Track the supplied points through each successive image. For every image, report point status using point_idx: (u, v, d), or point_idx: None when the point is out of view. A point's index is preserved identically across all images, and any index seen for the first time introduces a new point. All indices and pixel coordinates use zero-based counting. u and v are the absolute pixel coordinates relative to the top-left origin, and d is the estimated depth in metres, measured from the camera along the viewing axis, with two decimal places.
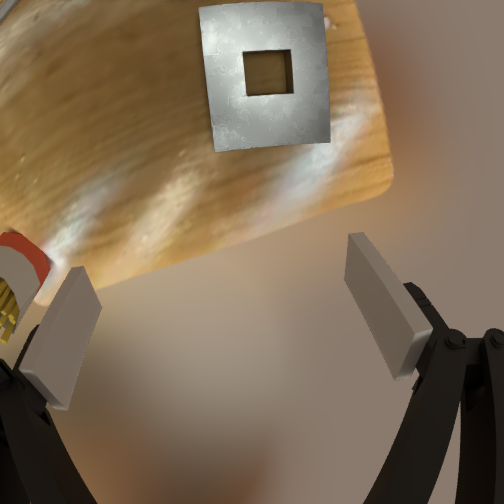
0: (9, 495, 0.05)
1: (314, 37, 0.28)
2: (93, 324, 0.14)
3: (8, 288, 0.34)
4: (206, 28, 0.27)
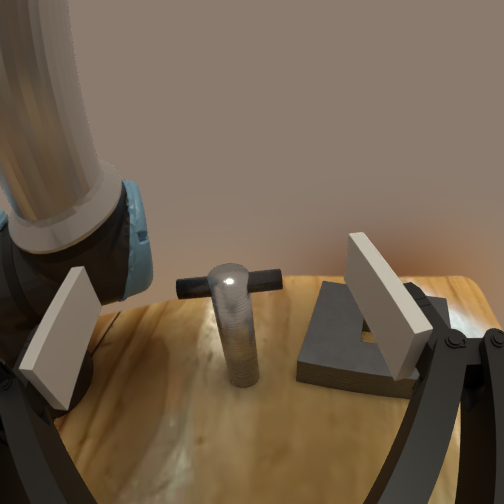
0: (9, 495, 0.05)
1: None
2: (93, 324, 0.14)
3: None
4: (325, 361, 0.30)
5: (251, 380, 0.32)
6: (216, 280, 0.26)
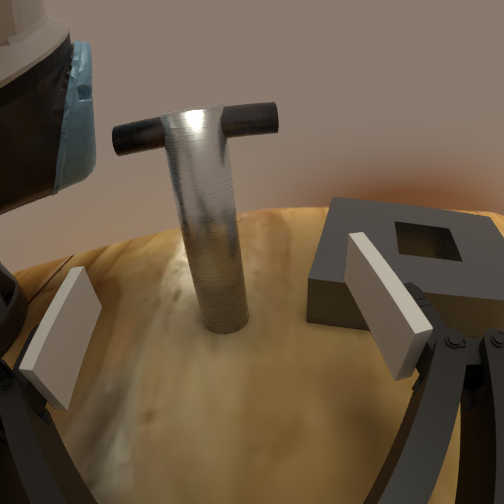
0: (9, 495, 0.05)
1: (376, 206, 0.28)
2: (94, 324, 0.14)
3: None
4: None
5: (235, 319, 0.21)
6: (173, 113, 0.15)
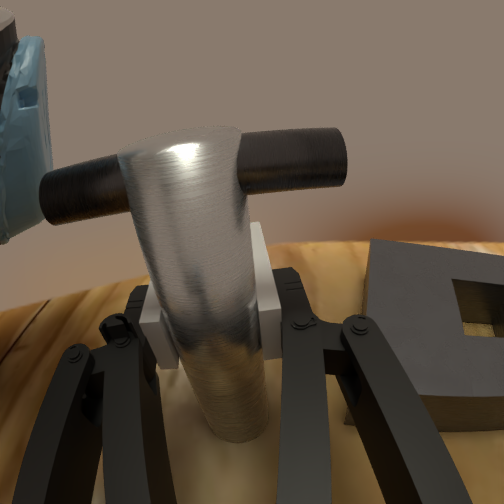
0: (74, 478, 0.06)
1: (426, 254, 0.21)
2: None
3: None
4: (414, 384, 0.12)
5: (253, 430, 0.14)
6: (141, 149, 0.07)
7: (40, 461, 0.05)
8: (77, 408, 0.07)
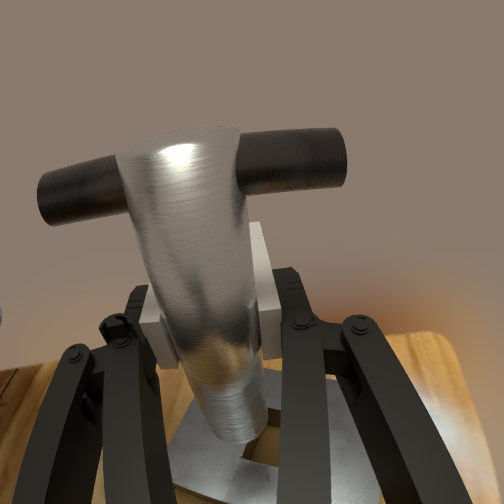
0: (74, 478, 0.06)
1: None
2: None
3: None
4: (186, 481, 0.19)
5: (252, 431, 0.14)
6: (139, 149, 0.07)
7: (40, 461, 0.05)
8: (78, 407, 0.07)
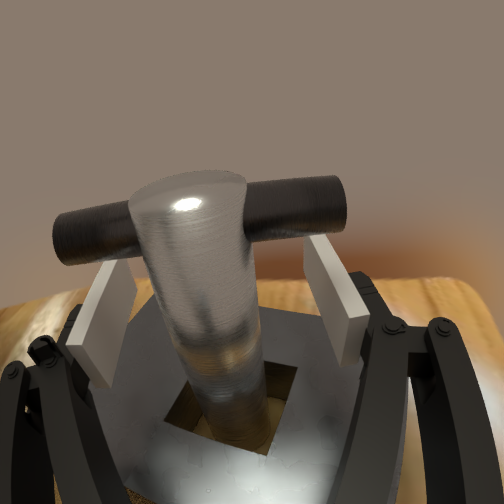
0: (33, 484, 0.05)
1: None
2: (131, 305, 0.15)
3: None
4: None
5: (255, 441, 0.15)
6: (151, 201, 0.08)
7: (0, 471, 0.05)
8: (22, 417, 0.07)
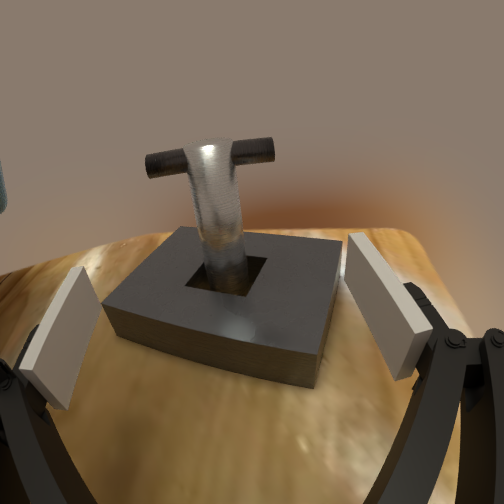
0: (9, 495, 0.05)
1: None
2: (93, 324, 0.14)
3: None
4: (128, 306, 0.23)
5: None
6: (193, 146, 0.20)
7: None
8: None
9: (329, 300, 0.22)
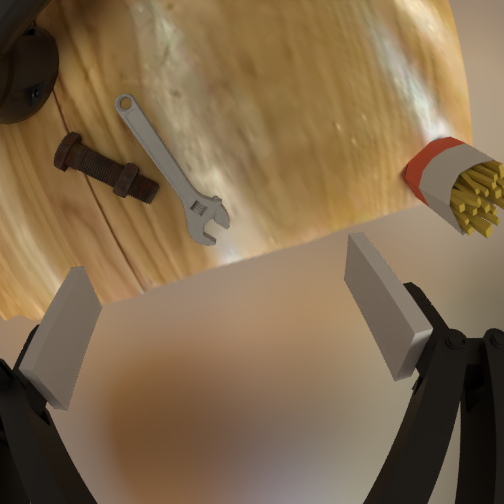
0: (9, 495, 0.05)
1: None
2: (93, 324, 0.14)
3: (469, 171, 0.32)
4: None
5: None
6: None
7: None
8: None
9: None
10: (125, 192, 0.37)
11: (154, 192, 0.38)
